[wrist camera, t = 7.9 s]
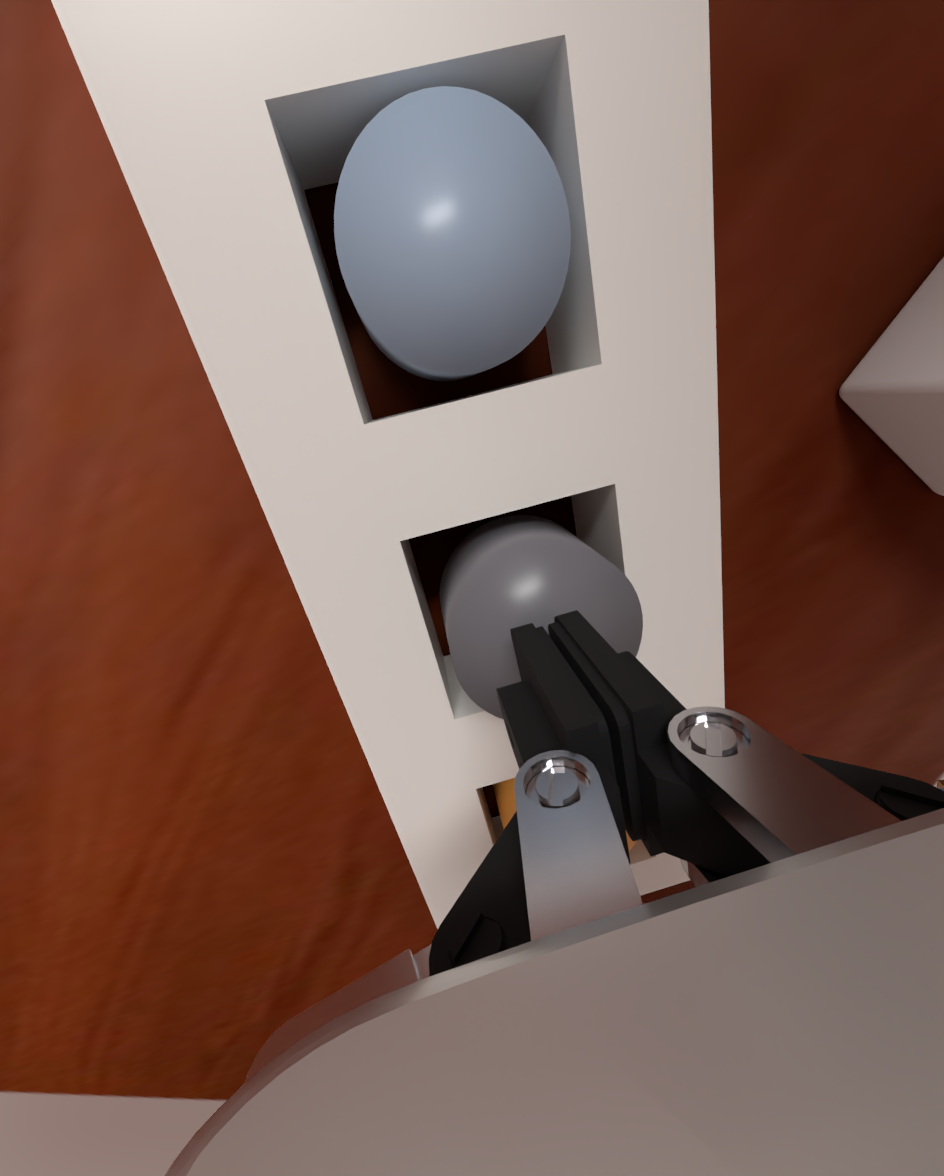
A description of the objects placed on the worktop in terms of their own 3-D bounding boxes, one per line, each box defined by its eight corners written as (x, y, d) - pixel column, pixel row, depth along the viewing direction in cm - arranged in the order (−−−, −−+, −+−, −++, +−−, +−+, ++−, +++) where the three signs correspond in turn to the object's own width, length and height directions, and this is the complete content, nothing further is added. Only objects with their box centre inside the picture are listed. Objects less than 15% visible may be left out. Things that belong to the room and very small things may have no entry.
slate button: (323, 195, 12) (296, 117, 9) (510, 151, 12) (550, 60, 9) (382, 399, 14) (377, 397, 11) (542, 358, 14) (585, 344, 11)
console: (157, 118, 12) (45, -15, 8) (612, 19, 12) (705, -148, 9) (440, 865, 22) (448, 955, 19) (675, 793, 23) (728, 868, 19)
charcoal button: (420, 539, 14) (427, 579, 11) (580, 496, 14) (633, 522, 11) (460, 676, 16) (476, 745, 13) (599, 636, 16) (650, 694, 13)
